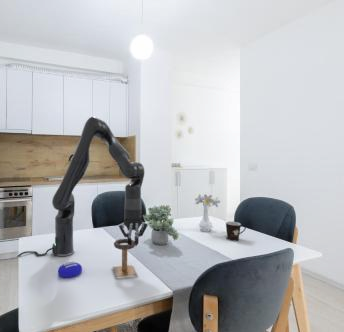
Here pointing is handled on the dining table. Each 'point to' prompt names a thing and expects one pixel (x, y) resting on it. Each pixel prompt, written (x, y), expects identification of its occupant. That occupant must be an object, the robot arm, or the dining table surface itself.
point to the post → (124, 267)
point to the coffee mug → (233, 230)
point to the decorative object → (69, 269)
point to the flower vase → (206, 211)
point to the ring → (124, 247)
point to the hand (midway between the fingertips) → (132, 245)
